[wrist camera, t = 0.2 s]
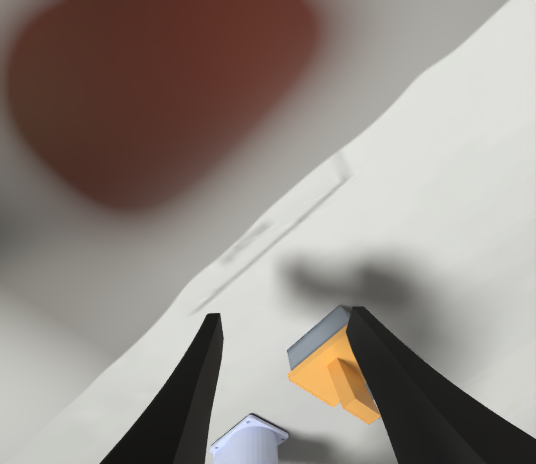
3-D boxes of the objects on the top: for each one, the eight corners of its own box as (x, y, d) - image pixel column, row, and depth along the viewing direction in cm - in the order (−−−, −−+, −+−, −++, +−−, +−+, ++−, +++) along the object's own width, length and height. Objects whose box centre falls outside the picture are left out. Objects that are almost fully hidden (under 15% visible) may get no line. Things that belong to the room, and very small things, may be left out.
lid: (328, 393, 25) (348, 452, 20) (286, 367, 23) (297, 424, 18) (387, 348, 24) (426, 399, 18) (348, 315, 22) (379, 362, 16)
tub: (322, 374, 27) (331, 398, 24) (287, 350, 25) (291, 373, 22) (373, 333, 26) (388, 354, 23) (339, 304, 24) (351, 323, 21)
